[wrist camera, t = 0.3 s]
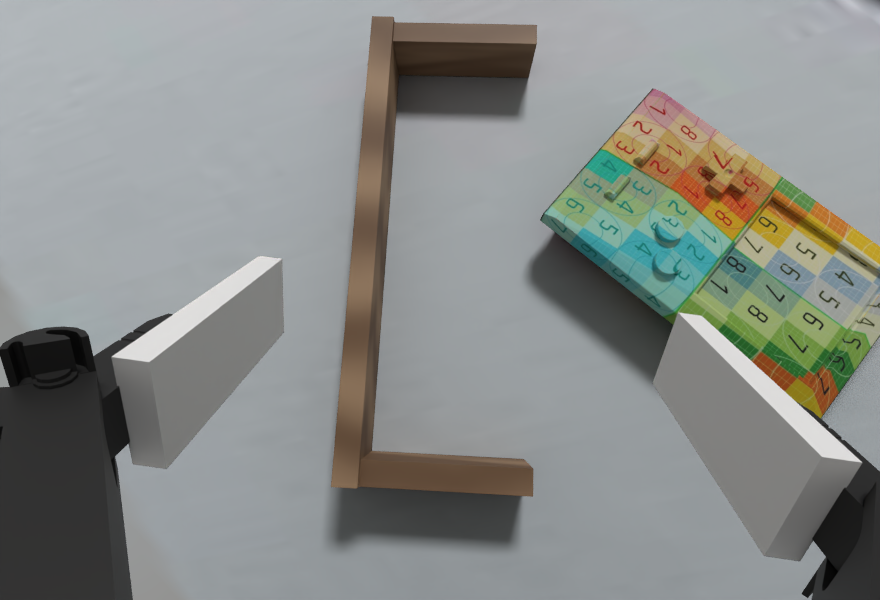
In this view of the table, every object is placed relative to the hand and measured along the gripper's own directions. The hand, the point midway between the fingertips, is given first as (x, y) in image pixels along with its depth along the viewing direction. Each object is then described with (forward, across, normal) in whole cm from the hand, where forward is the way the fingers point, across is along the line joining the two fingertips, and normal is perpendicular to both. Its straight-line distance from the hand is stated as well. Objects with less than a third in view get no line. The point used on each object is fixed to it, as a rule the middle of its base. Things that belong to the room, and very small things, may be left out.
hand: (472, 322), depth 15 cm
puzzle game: (+18, -16, +2) cm, 24 cm away
